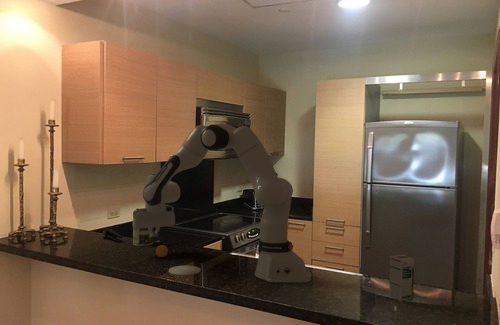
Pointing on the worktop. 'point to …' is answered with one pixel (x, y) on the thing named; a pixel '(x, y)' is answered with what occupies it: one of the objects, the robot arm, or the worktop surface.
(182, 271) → the disc
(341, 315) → the worktop surface
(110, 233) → the can opener
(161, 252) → the ball
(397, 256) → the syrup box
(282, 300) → the worktop surface
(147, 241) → the coffee can
